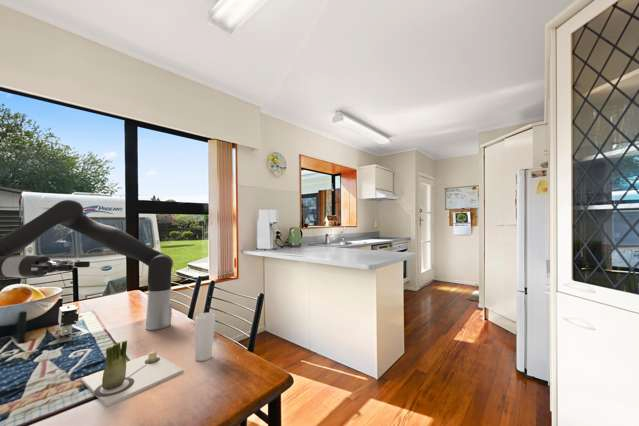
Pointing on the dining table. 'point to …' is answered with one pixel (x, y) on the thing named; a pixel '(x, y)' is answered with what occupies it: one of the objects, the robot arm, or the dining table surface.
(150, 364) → the gauge board
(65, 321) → the pneumatic valve
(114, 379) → the fennel bulb
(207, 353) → the drinking glass
